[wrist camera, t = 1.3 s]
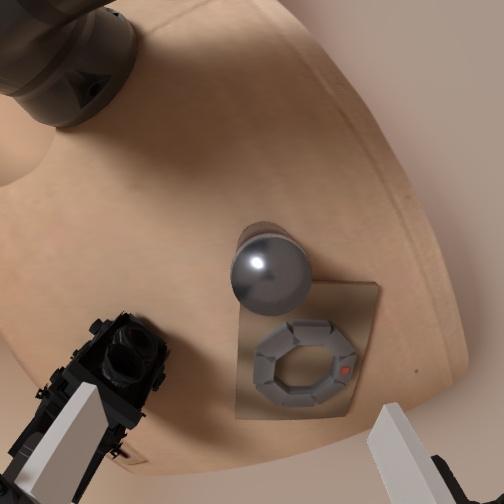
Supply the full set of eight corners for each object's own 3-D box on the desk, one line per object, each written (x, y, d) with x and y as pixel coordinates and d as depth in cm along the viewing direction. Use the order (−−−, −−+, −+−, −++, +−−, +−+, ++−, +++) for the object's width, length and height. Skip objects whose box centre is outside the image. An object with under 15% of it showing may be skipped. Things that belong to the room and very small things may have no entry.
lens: (237, 218, 27) (231, 234, 17) (293, 222, 27) (317, 239, 17) (235, 275, 28) (228, 319, 18) (288, 278, 28) (307, 322, 18)
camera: (193, 343, 30) (141, 506, 10) (134, 401, 32) (78, 521, 12) (122, 283, 28) (-7, 395, 8) (75, 353, 30) (-12, 452, 10)
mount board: (241, 276, 28) (240, 287, 25) (375, 282, 28) (387, 291, 25) (235, 412, 32) (234, 429, 29) (343, 410, 32) (349, 425, 29)
